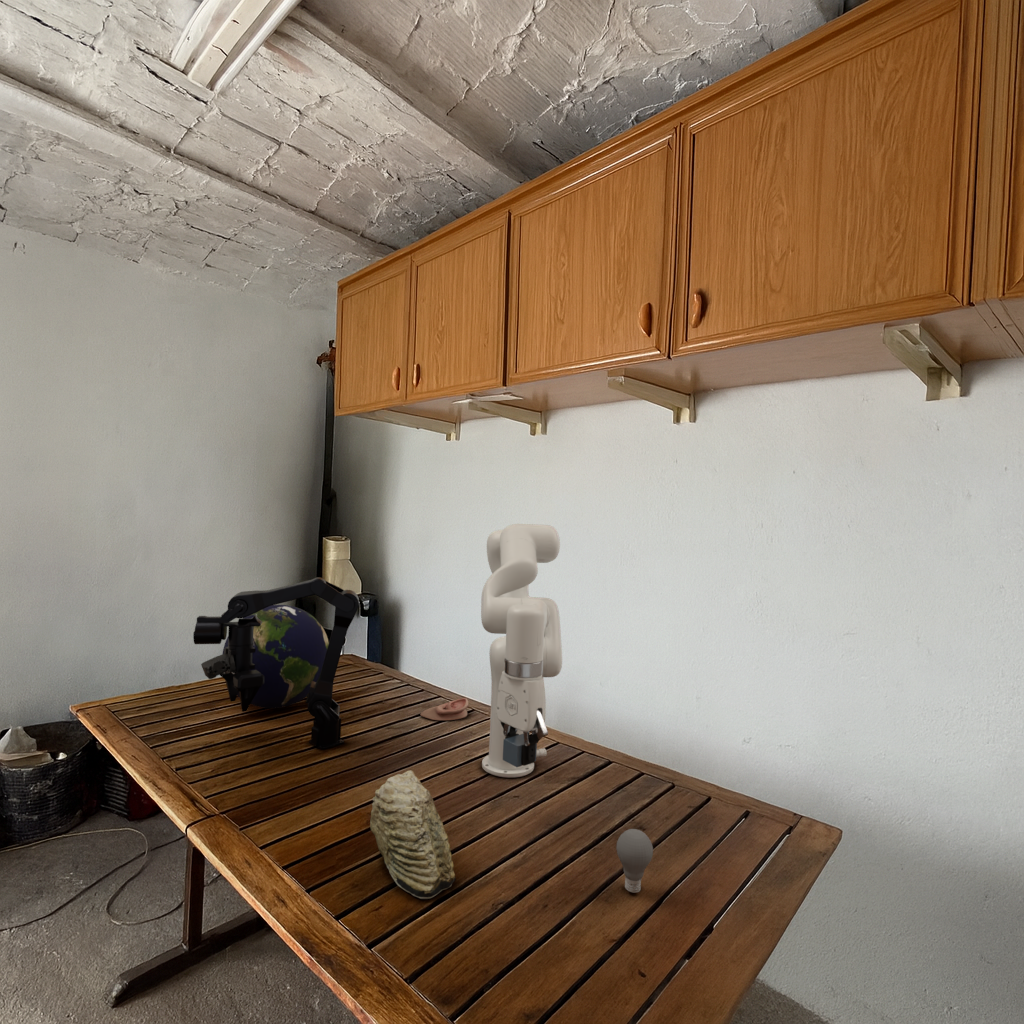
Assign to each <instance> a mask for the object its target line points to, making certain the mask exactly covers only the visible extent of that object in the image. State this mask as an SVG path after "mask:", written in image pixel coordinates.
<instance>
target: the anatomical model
mask: <svg viewBox="0 0 1024 1024" xmlns="http://www.w3.org/2000/svg"><path fill="white" fill-rule="evenodd" d="M468 706H469V700H468V698H467V697H463V698H462V697H461V698H458V699H454V700H451V701H448V702H445V703H441V704H440V705H436V706H433V707H432V706H431V707H429V708H427V709H424V710H423V711H421V712H420V713H419V714H420V716H421V717H423V718H426V719H429V720H432V721H453V720H460V719H464V718H466V717H467V716H468V711H467V708H468Z"/></svg>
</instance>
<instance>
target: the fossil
mask: <svg viewBox="0 0 1024 1024" xmlns="http://www.w3.org/2000/svg"><path fill="white" fill-rule="evenodd" d="M374 794H375V796H373V797H372V804H371V806H372V809H371V812H370V821H369V827H370V832H371V833H372V834H373V836H374V837H375V842H376V845H377V848H378V851H379V853H380V854H381V856H382V857H383V860H384V864H385V866H386V868H387V869H388V872H389V874H390V876H391V878H392V880H393V881H394V882H395V884H396V885H397V886H398V887H399V888H400V889H401V890H403V891H404V892H407V893H408V894H411V896H413V897H415V898H418V899H420V900H428V899H429V900H430V899H432V898H435V896H437V895H438V894H440V893H441V892H442V891H444V890H447V889H449V888H451V887H452V885H453V883H454V882H455V881H456V874H455V871H454V866H455V864H454V861H453V860H452V858H453V857H452V852H451V845H450V843H449V842H450V841H449V836H448V834H447V832H446V829H445V827H444V823H443V821H442V818H441V816H440V815H439V812H438V810H437V807H436V804H435V801H434V799H433V796H432V795H431V791H430V790H428V789H426V787H425V786H424V785H423V784H422V782H421V780H420V779H419V777H417V776H416V774H415V772H414V771H413V770H411V769H410V770H407V771H405V772H403V773H402V774H401V773H397V774H395V775H394V776H390V777H388V778H387V779H386V781H385V783H383V784H382V785H381V786H380V788H378V789H376V790H375V792H374Z"/></svg>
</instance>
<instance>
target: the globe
mask: <svg viewBox="0 0 1024 1024" xmlns="http://www.w3.org/2000/svg"><path fill="white" fill-rule="evenodd" d="M254 615H256V616H257V617H258V619H260V620H261V621H262V624H261V625H260V626H254V631H253V647H254V648H256V650H255V652H254V653H253V659H252V663H253V664H255V669H250V670H249V671H251V670H257V671H259V672H260V673H261V674H263V675H264V676H265V677H264V684H263V685H262V686H261V687H260V688H259V690H258V691H257V693H256V695H255V696H254V698H253V700H252V702H251V704H250V706H254V707H258V708H262V709H282V708H285V707H289V706H293V705H295V704H298V703H299V702H301V701H303V700H304V699H306V698H307V694H308V693H309V690H310V684H311V681H314V682H317V680H318V678H319V676H320V674H321V670H322V666H323V663H324V659H325V655H326V652H327V648H328V644H329V638H328V635H327V633H326V631H325V629H324V627H323V626H322V624H321V623H320V621H318V619H317V618H315V616H314V615H312V614H311V613H310V612H308V611H305V610H304V609H302V608H299V607H297V606H292V605H290V604H289V605H288V604H276V605H272V606H269V607H266V608H264V609H262V610H260V611H258V612H256V613H254V614H252V615H249V616H247V617H244V618H253V617H254ZM225 647H228V636H226V639H225V642H224V645H223V649H222V654H224V649H225ZM222 654H221V655H222ZM237 697H238V698H239V699H240V694H239V692H238V695H237Z"/></svg>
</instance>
